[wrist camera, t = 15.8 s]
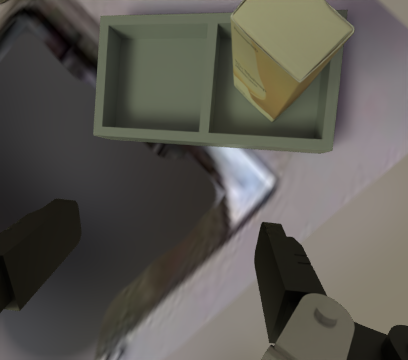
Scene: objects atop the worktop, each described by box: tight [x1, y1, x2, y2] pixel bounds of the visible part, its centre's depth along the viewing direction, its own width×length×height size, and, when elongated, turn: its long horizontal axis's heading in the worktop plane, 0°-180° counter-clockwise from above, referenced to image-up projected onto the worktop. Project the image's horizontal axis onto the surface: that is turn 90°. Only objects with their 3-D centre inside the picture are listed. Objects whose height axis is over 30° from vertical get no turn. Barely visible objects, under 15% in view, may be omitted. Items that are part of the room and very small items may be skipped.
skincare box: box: [230, 0, 355, 122], centre depth 20 cm, size 6×4×12 cm
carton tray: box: [93, 10, 348, 154], centre depth 26 cm, size 25×13×4 cm, turn 85°
